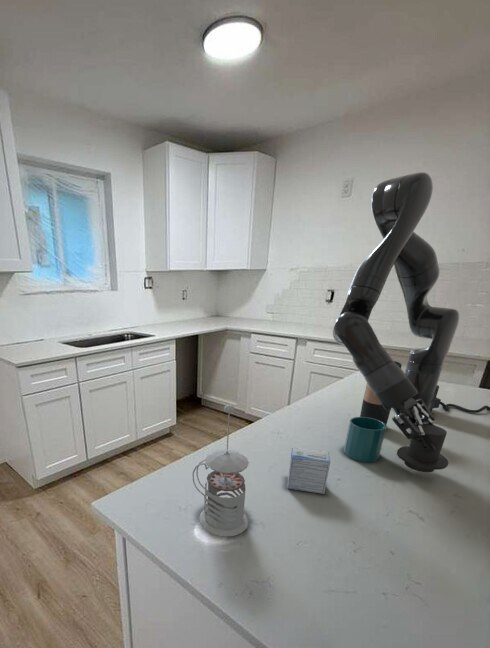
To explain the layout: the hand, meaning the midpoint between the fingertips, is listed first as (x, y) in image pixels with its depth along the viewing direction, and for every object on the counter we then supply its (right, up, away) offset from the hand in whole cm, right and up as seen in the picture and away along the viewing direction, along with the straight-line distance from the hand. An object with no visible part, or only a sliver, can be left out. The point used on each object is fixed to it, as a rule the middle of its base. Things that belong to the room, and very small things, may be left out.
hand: (434, 446), depth 82 cm
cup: (-10, -3, +13) cm, 17 cm away
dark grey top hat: (-1, -5, +3) cm, 6 cm away
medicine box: (-29, -10, +1) cm, 31 cm away
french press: (-50, -14, -8) cm, 53 cm away
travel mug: (+2, +3, +28) cm, 28 cm away
